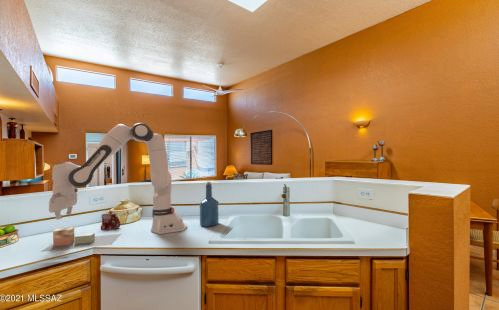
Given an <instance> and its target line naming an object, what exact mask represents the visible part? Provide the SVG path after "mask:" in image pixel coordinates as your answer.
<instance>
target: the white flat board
mask: <svg viewBox="0 0 499 310" xmlns="http://www.w3.org/2000/svg"><path fill="white" fill-rule="evenodd" d="M120 236H122V233H114V234H105V235H104V234H103V235H95V240H94V241H93V242H91V243H80V244H75V237H74V242H73V243H72V244H70V245H59V246H53V243H52V244H51V245H49V246H47V247H46V248H44V249H42V250H40V252H50V251H61V250H72V249H81V248H82V249H83V248H89V247H91V248H92V247H102V246H103V247H104V246H110V245H112V244H114V243H115V242H116V240H117V239H118V238H119V237H120Z"/></svg>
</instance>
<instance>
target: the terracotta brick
mask: <svg viewBox="0 0 499 310" xmlns="http://www.w3.org/2000/svg"><path fill="white" fill-rule="evenodd" d="M74 238H75V234H74V235H73V236H71V237H66V238H54V239H53V238H52V240H53V241H52V242H53V243H52V244H53V246H59V245H70V244H72V243H73V242H74Z"/></svg>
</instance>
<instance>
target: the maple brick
mask: <svg viewBox="0 0 499 310" xmlns="http://www.w3.org/2000/svg"><path fill="white" fill-rule="evenodd" d="M73 235H74V236H75V227H64V228H62V227H61V228H56V229H55V230H53V231H52V240H53V239H54V238H66V237H71V236H73Z"/></svg>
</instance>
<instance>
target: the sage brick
mask: <svg viewBox="0 0 499 310" xmlns="http://www.w3.org/2000/svg"><path fill="white" fill-rule="evenodd" d="M95 236H96V235H95V232H87V233H77V235H74V238H75V244H80V243H91V242H93V241H94V240H95Z"/></svg>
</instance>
